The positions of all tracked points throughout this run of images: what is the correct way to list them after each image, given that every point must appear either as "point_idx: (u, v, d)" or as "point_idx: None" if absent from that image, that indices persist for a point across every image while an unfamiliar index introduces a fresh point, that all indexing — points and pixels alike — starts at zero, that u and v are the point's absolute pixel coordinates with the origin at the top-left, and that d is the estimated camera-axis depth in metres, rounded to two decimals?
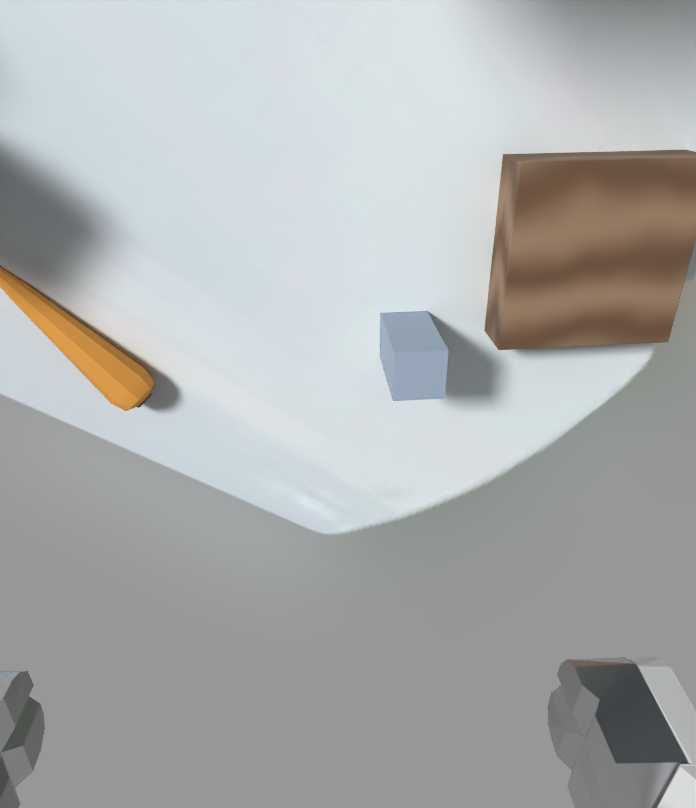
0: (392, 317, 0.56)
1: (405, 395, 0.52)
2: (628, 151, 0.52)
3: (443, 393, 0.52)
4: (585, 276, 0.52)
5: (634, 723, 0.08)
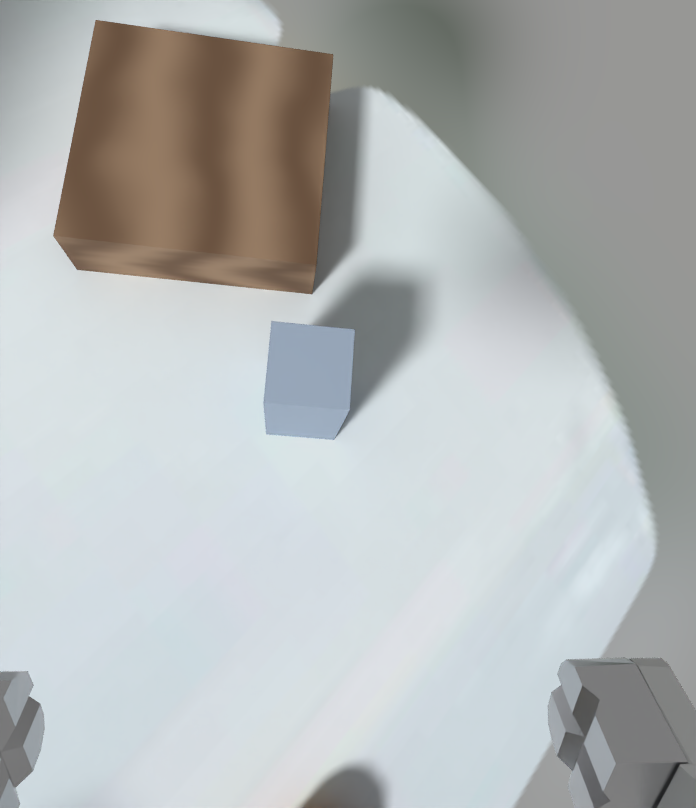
0: None
1: (342, 389, 0.32)
2: None
3: (345, 331, 0.33)
4: (222, 156, 0.39)
5: (634, 723, 0.08)
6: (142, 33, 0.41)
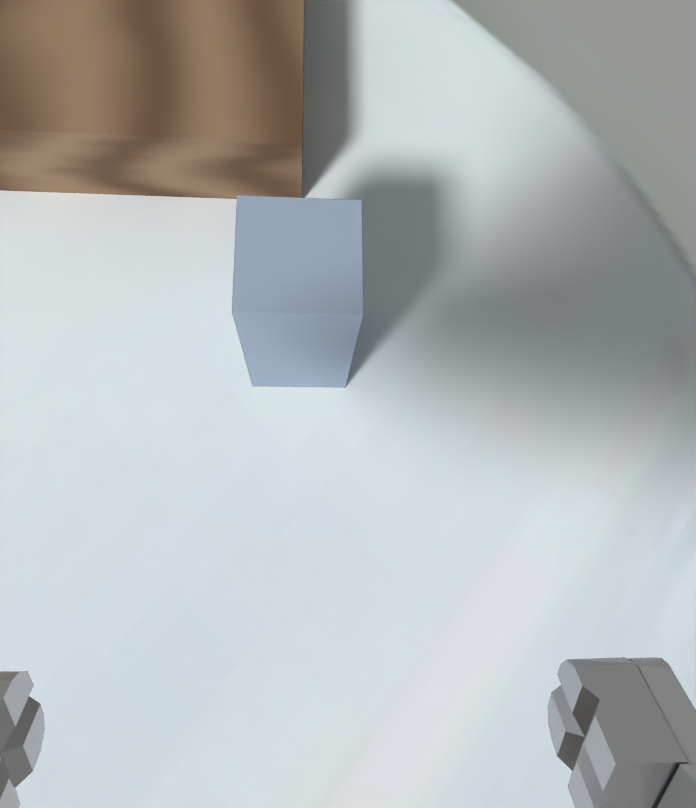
0: None
1: (349, 286, 0.21)
2: None
3: (348, 203, 0.22)
4: (164, 13, 0.29)
5: (634, 723, 0.08)
6: None
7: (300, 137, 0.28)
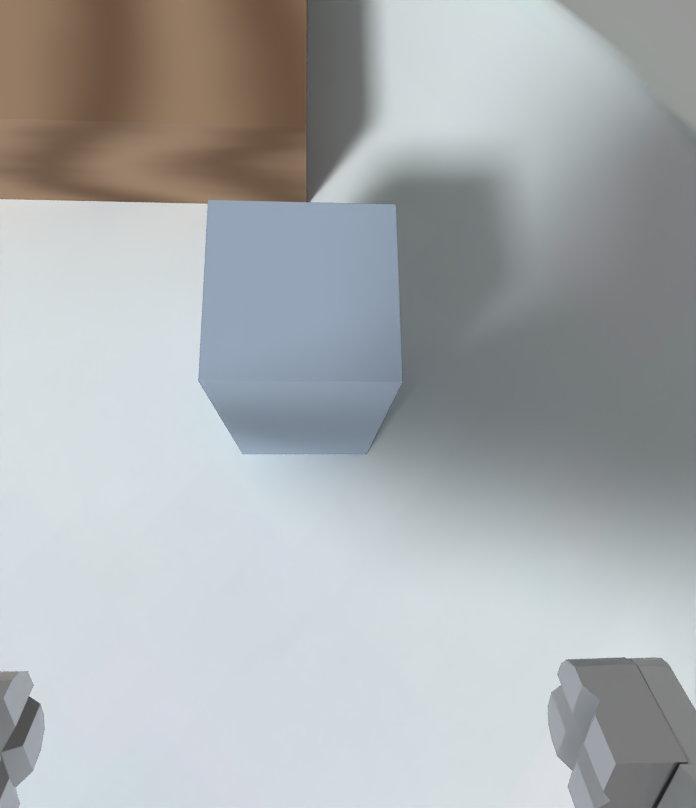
0: None
1: (380, 337, 0.14)
2: None
3: (376, 209, 0.15)
4: None
5: (634, 723, 0.08)
6: None
7: (303, 119, 0.20)
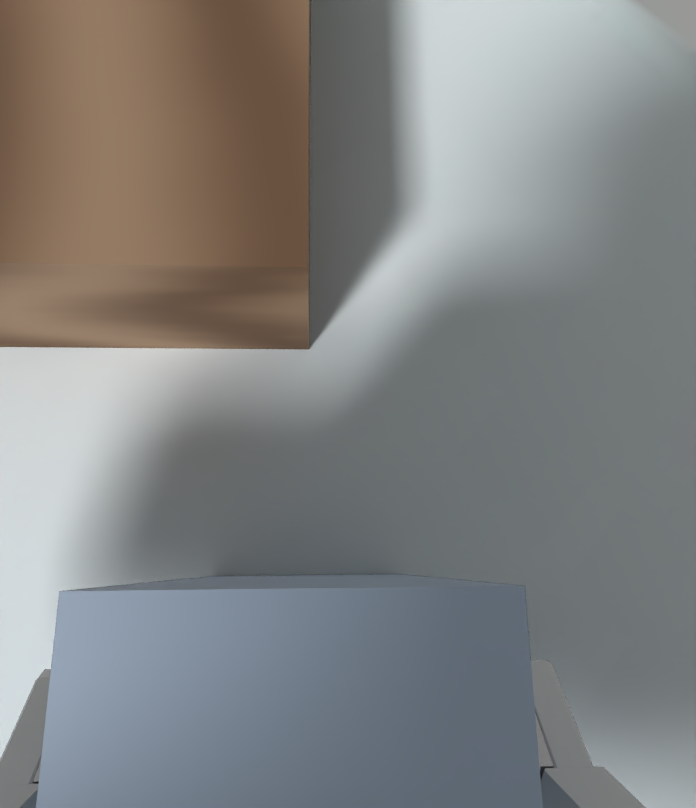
0: None
1: None
2: None
3: (477, 604, 0.06)
4: None
5: None
6: None
7: (303, 253, 0.12)
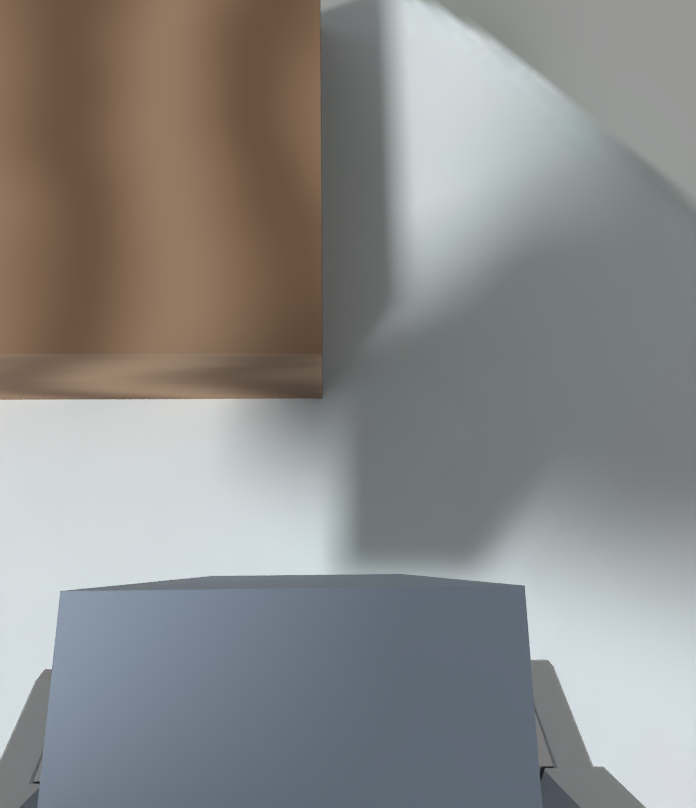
0: None
1: None
2: None
3: (478, 604, 0.06)
4: (97, 134, 0.18)
5: None
6: None
7: (319, 343, 0.17)
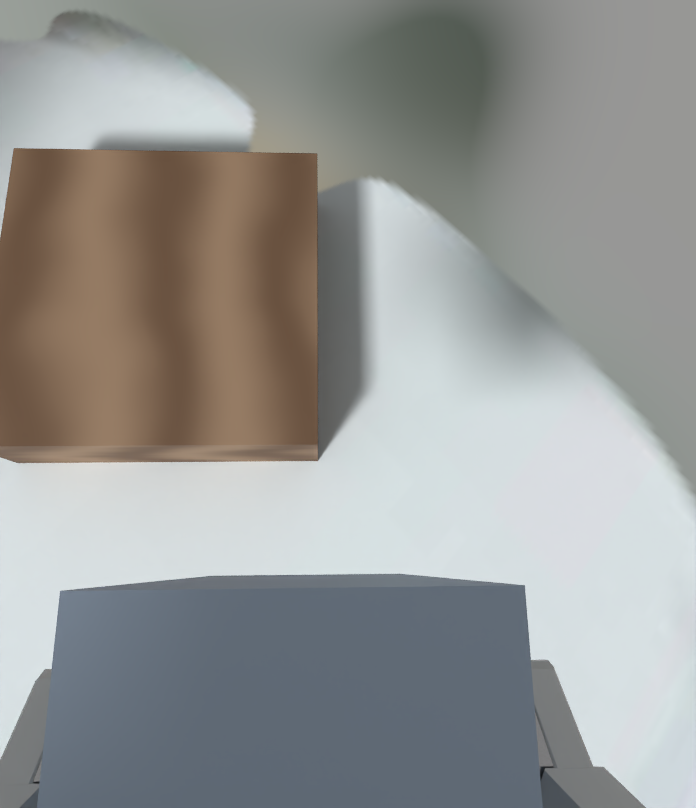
0: None
1: None
2: None
3: (478, 604, 0.06)
4: (183, 308, 0.30)
5: None
6: (73, 158, 0.32)
7: (316, 438, 0.29)
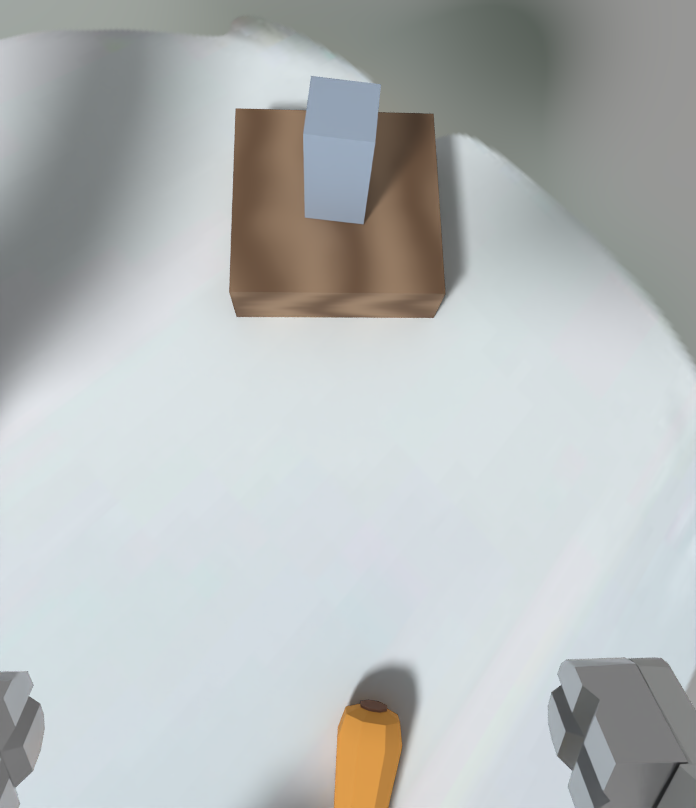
0: None
1: (369, 127, 0.38)
2: None
3: (373, 85, 0.39)
4: None
5: (634, 723, 0.08)
6: (274, 115, 0.49)
7: (444, 290, 0.45)
